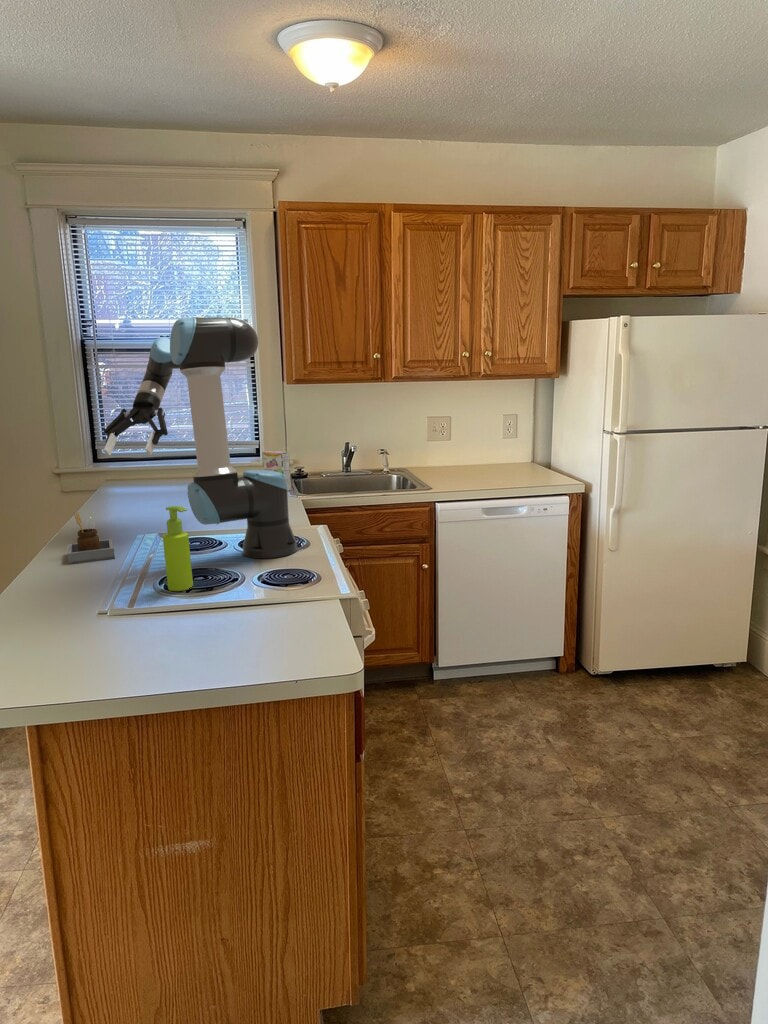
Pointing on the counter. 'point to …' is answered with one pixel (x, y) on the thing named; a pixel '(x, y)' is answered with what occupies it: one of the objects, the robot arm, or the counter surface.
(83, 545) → the utensil holder
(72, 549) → the tray
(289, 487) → the candy bar box
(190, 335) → the robot arm
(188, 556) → the soap dispenser
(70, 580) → the counter surface
